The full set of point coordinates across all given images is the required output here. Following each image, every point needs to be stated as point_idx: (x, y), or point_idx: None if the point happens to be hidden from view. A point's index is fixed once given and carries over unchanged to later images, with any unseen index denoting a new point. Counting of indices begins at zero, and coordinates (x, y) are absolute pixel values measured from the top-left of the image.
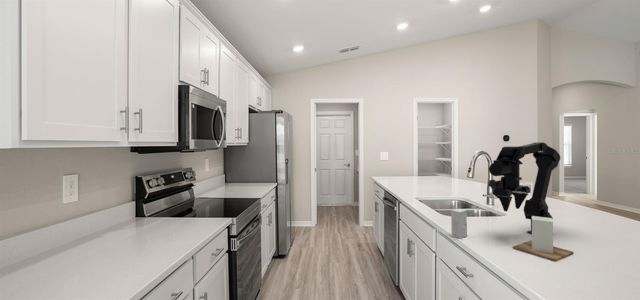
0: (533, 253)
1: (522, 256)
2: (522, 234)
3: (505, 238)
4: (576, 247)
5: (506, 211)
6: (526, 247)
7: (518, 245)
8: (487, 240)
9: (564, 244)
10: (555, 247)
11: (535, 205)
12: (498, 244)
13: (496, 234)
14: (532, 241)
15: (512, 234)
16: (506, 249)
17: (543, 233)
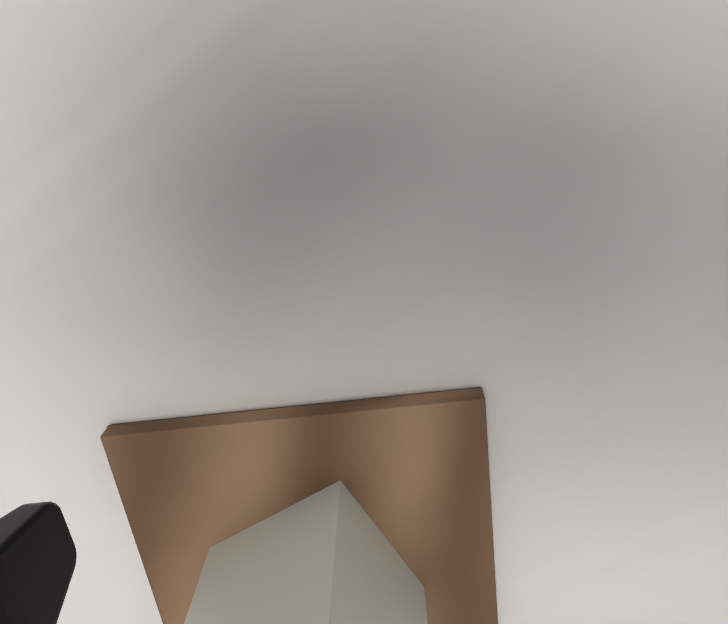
0: (153, 582)
1: None
2: (713, 166)
3: (331, 185)
4: (704, 606)
5: (53, 555)
6: (215, 499)
7: (191, 440)
8: (32, 143)
9: (709, 536)
10: (476, 588)
11: None
12: (60, 294)
13: (373, 4)
14: (188, 620)
15: (589, 107)
16: (28, 416)
17: None
